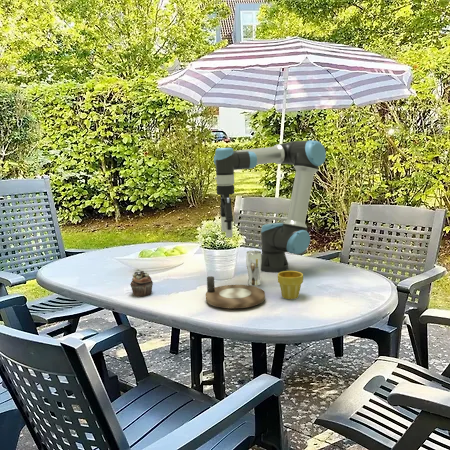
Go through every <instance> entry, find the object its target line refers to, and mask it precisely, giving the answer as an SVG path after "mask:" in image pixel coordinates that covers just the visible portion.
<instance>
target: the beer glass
mask: <svg viewBox="0 0 450 450" xmlns="http://www.w3.org/2000/svg"><path fill="white" fill-rule="evenodd" d="M261 255H262V250H261V251H260V250H255V249H254V250H249V251H246V255H245V259H246V260H245V263H246V269H247V270H246V271H247V275H248V276H247V277H248V280H247V285H249V286H254V287H260V286H261V285H262V281H261V272H262V270H261V266H262V256H261Z"/></svg>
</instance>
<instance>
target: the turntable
mask: <svg viewBox="0 0 450 450" xmlns="http://www.w3.org/2000/svg"><path fill="white" fill-rule="evenodd" d="M206 288H207V289H206V290H207V291H206V293H205V302H206V303H208V304H209V305H211V306H213V307H217V308H222V309H223V308H224V309H244V308H251V307H255V306H258V305H260V304H262V303H263V302H264V301H265V300H266V293H265V290H264V289H262V288H260V287H259V286H249V285H248V284H226V285H221V286H219V285H218V286H216V287H215V277H214V276H211V275H210V276H207V277H206Z"/></svg>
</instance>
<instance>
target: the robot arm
mask: <svg viewBox="0 0 450 450" xmlns="http://www.w3.org/2000/svg"><path fill="white" fill-rule="evenodd" d="M326 158H327V151H326V149H325V146H324V145H323V144H322V143H321V142H320V141H319V140H312V139H310V140H294V141H288V142H284V143H280V144H279V143H278V144H277V143H276V144H275V145H273V146H269V147H258V148H250V149H239V150H234V148H232V147H218V148H216V149H215V153H214V157H213V163H214V165H215V177H214V180H216V194H217V195H219V196H220V212H219V214H220V221H221V222H220V224H221V226H220V229H221V232H223V233H224V232H225V238H233V237H234V236H233V233H234V232H233V221H234V217H233V210H232V208H233V207H232V198H231V197H230V195H234V194H235V185H234V184H235V171H237V170H238V171H239V170H250V169H255V167H257V165H258V166H259V165H266V164H273V163H275V164H277V165H293V168H294V169H295V175H294V181H293V185H292V191H291V197H290V203H289V208H288V213H287V216H286V217H287V218H286V220H285V221H283V222H273V223H265V224H263V225H262V226H261V232H260V234H261V236H260V237H261V240H260V241H261V256H262V266H261V272H266V273H280V272H283V271H289V266H290V265H289V262H288V258H287V256H286V253H289V254H291V255H292V254H294V255H300V254H302V253H304V252H306V251H307V249H308V248H309V245H310V243H311V236H310V233H309V232H308V231H307V230H308V226H307V225H306V220H307V219H306V218H307V215H308V208H309V203H310V202H309V201H310V197H311V192H312V185H313V181H314V177H315V176H314V175H315V174H317V172H319V167H320V166H322V165H323V164H324V163H325V160H326Z"/></svg>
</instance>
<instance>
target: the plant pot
mask: <svg viewBox="0 0 450 450" xmlns="http://www.w3.org/2000/svg"><path fill="white" fill-rule="evenodd" d="M303 282H304V273H303V272H300V271H296V270H285V271H281V272H277V283H278V284H279V287H280V293H281V297H282V298H283V299H285V300H296V299H298V298H299V295H300V291H301V287H302V284H303Z"/></svg>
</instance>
